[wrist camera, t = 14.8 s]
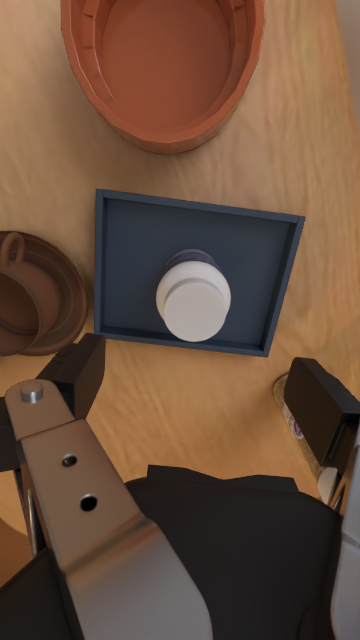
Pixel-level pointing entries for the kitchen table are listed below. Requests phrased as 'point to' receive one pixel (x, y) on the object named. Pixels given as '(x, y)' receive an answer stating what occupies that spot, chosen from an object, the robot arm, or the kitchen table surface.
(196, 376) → the kitchen table surface
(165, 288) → the pill bottle
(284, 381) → the sprinkles bottle
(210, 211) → the tray
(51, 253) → the cup and saucer
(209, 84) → the bowl
